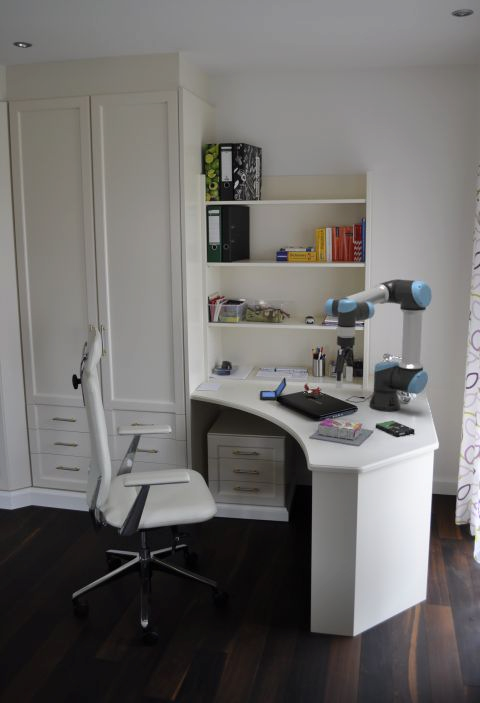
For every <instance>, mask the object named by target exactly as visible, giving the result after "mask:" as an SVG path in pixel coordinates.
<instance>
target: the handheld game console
mask: <svg viewBox="0 0 480 703" xmlns="http://www.w3.org/2000/svg"><path fill="white" fill-rule="evenodd" d="M286 386H287V380H286V377H284V378H282V380H281V382H280V383H279V385H278V387H277V388H276V389H275V390H260V395H259V396H260V397H259V400H260V401H266V402H267V401H269V402H270V401H276V402H277V397H278V398H280V396H281V394H282V393H283V391H284V390H285V388H286Z"/></svg>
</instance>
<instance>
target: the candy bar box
mask: <svg viewBox="0 0 480 703" xmlns="http://www.w3.org/2000/svg"><path fill="white" fill-rule="evenodd" d="M362 427H363V423H362V422H356V421H348V420H342V419H341V420H340V419H333V418H328V417H327V418H325V419H324V420H322V421H321V422H320V423H319V424H318V427H317V428H318V429H317V431H318V435H324V436H331V437H337V438H343V439H350V440H355V439H356V438H357V437H358V436H359V435H360V434H361V432H362V429H363V428H362Z"/></svg>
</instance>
